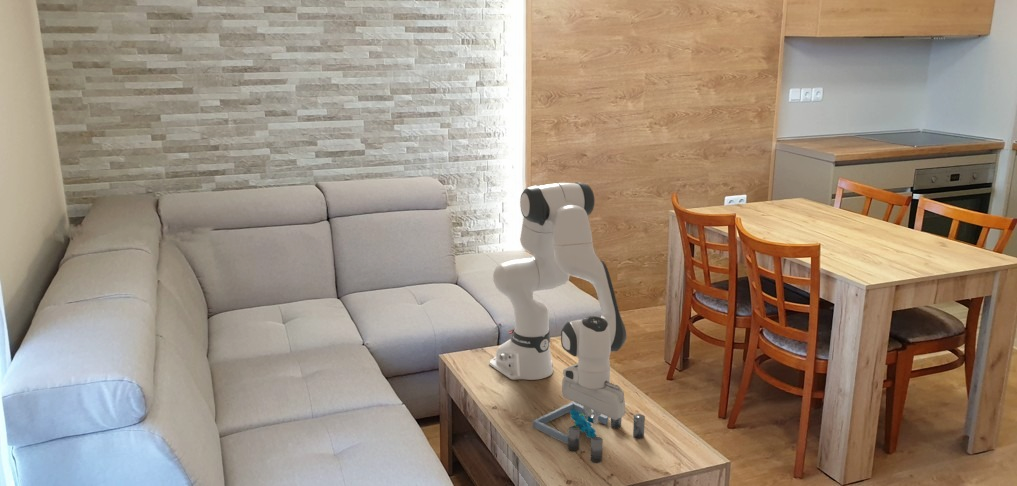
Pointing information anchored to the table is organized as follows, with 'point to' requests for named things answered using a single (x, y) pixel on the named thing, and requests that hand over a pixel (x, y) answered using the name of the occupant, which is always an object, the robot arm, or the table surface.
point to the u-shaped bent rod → (541, 421)
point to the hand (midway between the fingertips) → (592, 422)
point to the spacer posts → (598, 441)
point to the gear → (582, 423)
